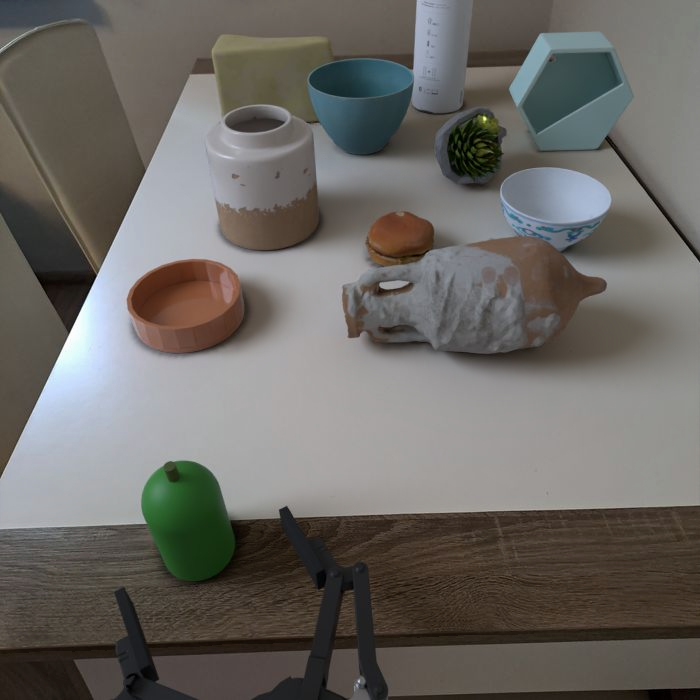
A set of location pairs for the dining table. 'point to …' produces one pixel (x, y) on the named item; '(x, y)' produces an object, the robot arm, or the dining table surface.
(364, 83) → the plant pot
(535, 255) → the amphora
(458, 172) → the potted plant
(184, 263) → the orange bowl
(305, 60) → the cheese
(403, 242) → the burger
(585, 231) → the chinaware
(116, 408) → the dining table surface
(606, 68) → the planter
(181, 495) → the green pepper
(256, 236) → the vase
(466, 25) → the white tall cylinder
